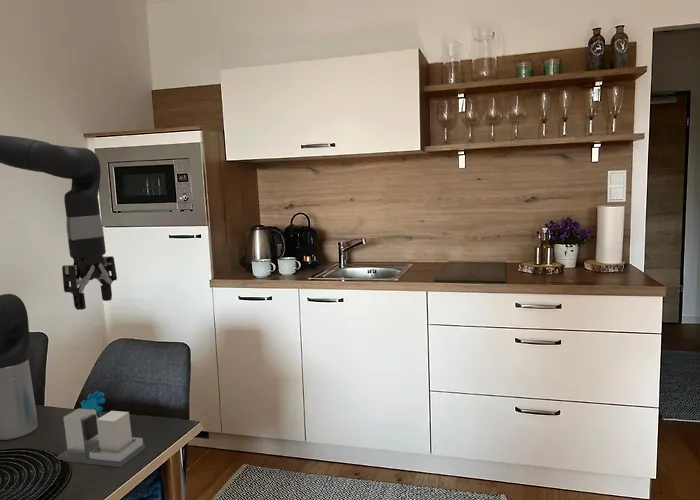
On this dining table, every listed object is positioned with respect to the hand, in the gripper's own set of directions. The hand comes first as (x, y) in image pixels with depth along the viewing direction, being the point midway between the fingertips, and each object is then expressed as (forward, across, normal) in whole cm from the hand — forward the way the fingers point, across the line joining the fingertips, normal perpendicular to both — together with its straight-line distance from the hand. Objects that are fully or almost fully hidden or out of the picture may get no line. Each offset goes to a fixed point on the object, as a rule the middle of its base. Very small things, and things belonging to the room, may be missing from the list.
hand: (94, 304), depth 130 cm
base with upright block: (+30, +12, +8) cm, 33 cm away
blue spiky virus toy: (+30, 0, -5) cm, 31 cm away
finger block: (+29, +12, +12) cm, 34 cm away
